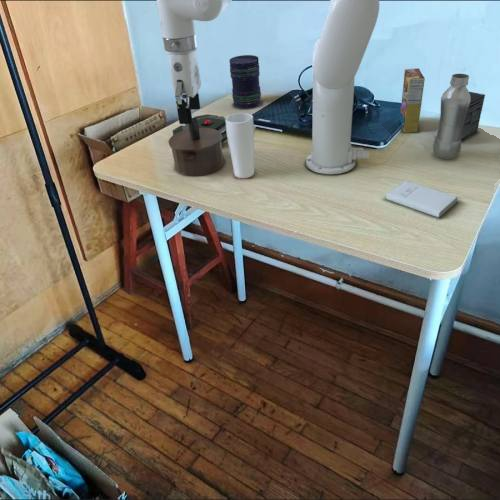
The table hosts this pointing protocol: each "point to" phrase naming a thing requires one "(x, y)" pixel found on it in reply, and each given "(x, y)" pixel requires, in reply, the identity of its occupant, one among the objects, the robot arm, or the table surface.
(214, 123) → the four-lobed dark green device
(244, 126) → the drinking glass
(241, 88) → the storage jar
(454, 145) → the plastic bottle
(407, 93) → the candy box
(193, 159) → the two-handled cooking pot
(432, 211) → the hard drive
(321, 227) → the table surface
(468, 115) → the small box
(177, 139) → the lid
